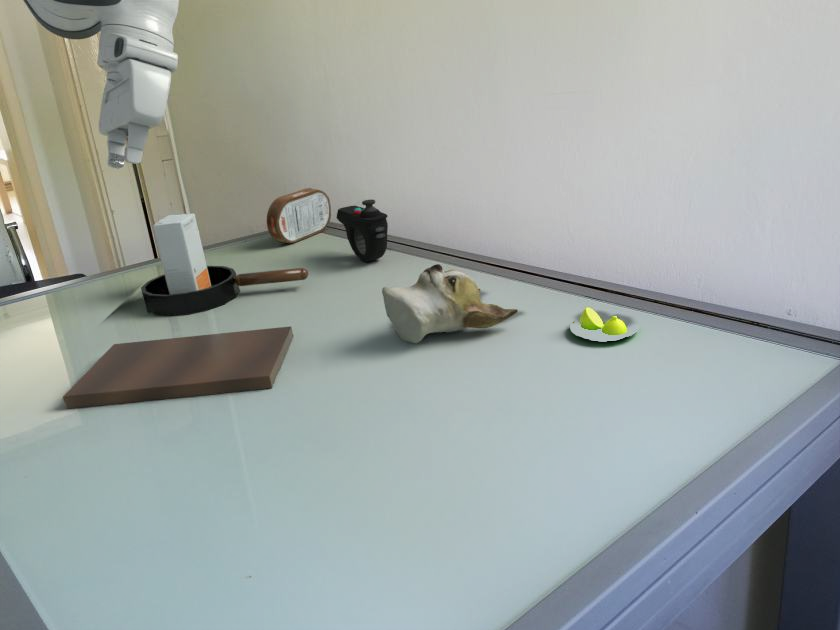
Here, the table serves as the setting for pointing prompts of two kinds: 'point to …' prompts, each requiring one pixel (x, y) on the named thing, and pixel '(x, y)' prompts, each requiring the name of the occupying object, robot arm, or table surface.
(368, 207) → the controller
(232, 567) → the table surface
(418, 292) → the ceramic sculpture
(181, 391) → the cutting board
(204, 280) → the cosmetic box
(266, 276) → the pan
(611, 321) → the lemon
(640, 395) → the table surface
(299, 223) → the tin
